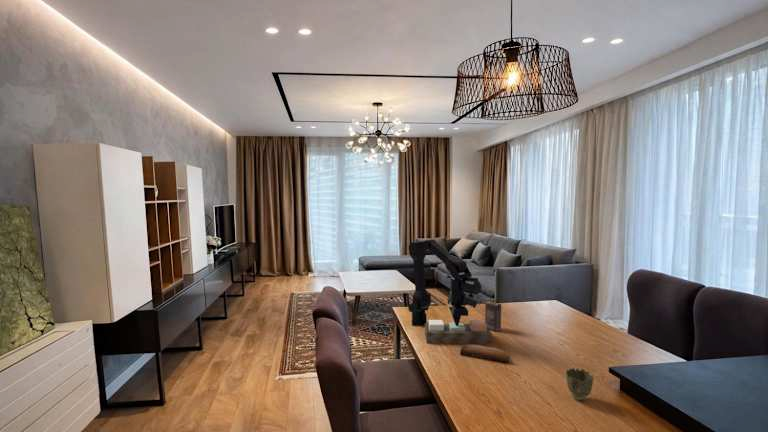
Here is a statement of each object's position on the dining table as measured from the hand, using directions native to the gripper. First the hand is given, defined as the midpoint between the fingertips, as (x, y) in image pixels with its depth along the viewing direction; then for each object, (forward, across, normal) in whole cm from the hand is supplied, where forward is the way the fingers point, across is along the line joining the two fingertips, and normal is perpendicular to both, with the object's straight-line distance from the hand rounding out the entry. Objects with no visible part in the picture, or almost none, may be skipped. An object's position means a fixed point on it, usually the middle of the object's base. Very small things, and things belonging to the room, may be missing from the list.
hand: (456, 325), depth 159 cm
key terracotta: (+3, 0, -9) cm, 10 cm away
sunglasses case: (+6, -16, -8) cm, 20 cm away
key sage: (+5, 0, 0) cm, 5 cm away
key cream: (+3, 0, +9) cm, 10 cm away
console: (+6, 0, 0) cm, 6 cm away
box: (+6, +12, -18) cm, 23 cm away
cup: (+6, -46, -30) cm, 55 cm away
